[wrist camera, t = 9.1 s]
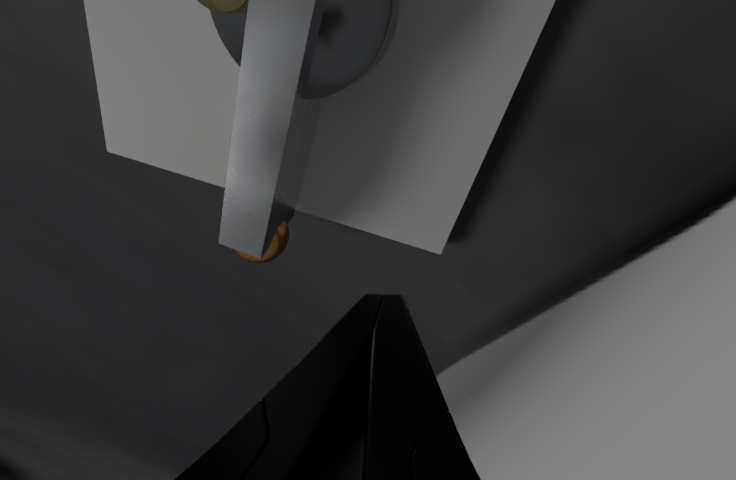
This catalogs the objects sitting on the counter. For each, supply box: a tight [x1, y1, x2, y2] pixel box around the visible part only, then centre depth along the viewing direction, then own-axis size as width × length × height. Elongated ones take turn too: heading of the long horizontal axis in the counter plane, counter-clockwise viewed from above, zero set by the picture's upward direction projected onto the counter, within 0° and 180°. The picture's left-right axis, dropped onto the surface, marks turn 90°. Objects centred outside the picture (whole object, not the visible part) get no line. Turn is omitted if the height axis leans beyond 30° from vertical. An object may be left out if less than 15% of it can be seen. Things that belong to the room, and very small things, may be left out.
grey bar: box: [197, 0, 400, 263], centre depth 10 cm, size 5×18×4 cm, turn 161°
